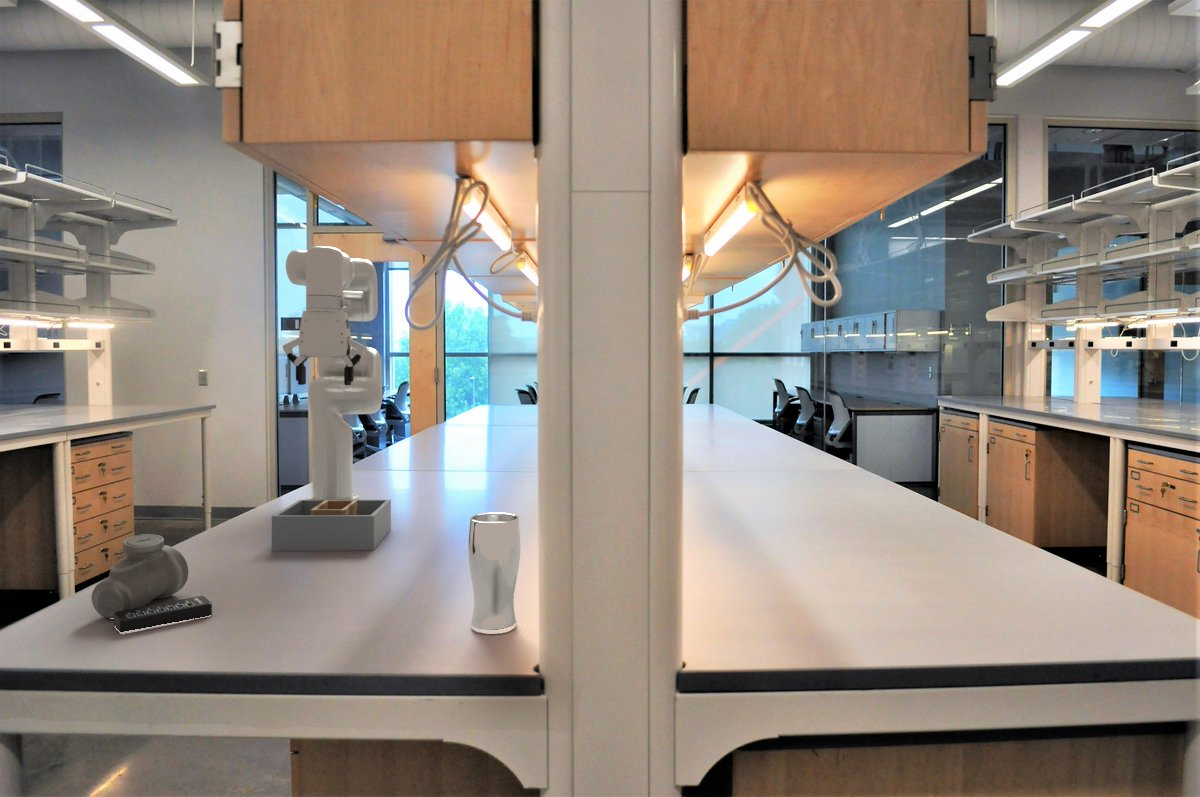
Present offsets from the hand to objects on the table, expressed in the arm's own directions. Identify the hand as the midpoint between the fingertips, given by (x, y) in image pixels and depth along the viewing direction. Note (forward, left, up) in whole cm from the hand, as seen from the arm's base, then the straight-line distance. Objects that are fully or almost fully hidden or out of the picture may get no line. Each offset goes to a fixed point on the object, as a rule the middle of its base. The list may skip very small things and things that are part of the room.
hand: (324, 384), depth 160 cm
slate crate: (+15, +6, -30) cm, 34 cm away
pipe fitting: (+55, -11, -31) cm, 64 cm away
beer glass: (+65, +40, -31) cm, 82 cm away
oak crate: (+15, +6, -29) cm, 33 cm away
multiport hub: (+61, -5, -31) cm, 68 cm away
